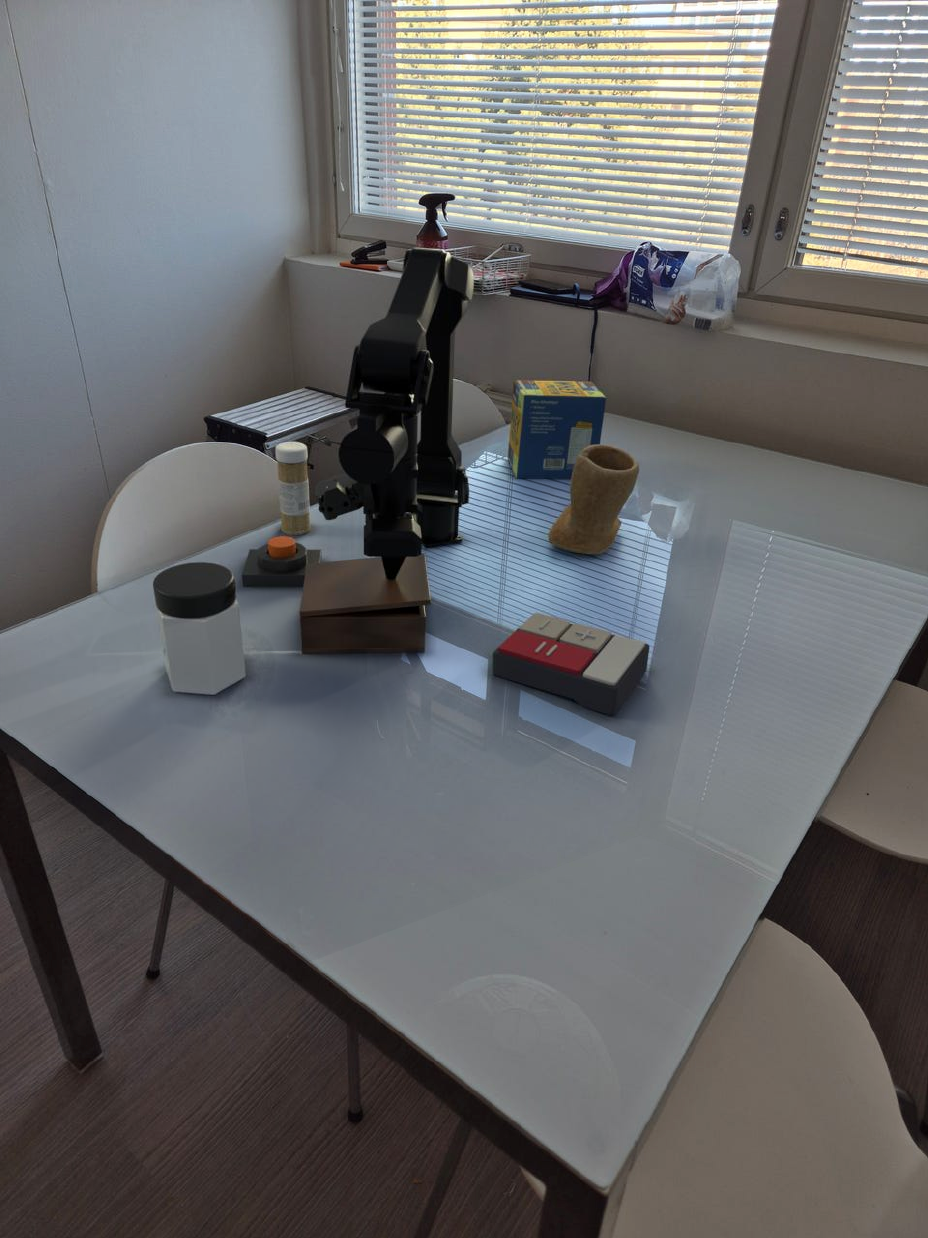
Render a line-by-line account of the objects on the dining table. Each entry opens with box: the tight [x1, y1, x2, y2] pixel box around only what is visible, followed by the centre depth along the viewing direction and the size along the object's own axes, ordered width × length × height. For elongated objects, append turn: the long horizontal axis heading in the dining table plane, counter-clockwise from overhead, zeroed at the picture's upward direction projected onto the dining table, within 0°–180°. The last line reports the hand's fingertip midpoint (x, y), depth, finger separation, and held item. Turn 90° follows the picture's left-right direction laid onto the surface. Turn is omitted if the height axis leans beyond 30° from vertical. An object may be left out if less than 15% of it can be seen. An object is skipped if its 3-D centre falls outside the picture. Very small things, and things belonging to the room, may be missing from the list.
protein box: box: [507, 379, 607, 480], centre depth 152 cm, size 10×15×16 cm
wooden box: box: [299, 605, 427, 655], centre depth 101 cm, size 14×12×5 cm
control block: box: [241, 542, 323, 588], centre depth 112 cm, size 10×8×4 cm
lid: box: [298, 552, 432, 618], centre depth 99 cm, size 15×12×1 cm
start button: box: [267, 535, 296, 558], centre depth 111 cm, size 4×4×2 cm
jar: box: [152, 561, 247, 696], centre depth 88 cm, size 9×8×12 cm
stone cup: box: [547, 443, 640, 555], centre depth 124 cm, size 15×12×15 cm
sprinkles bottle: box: [274, 441, 312, 536], centre depth 122 cm, size 5×5×13 cm
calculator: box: [492, 612, 650, 716], centre depth 94 cm, size 11×4×15 cm
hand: (390, 577), depth 99 cm, fingers closed
